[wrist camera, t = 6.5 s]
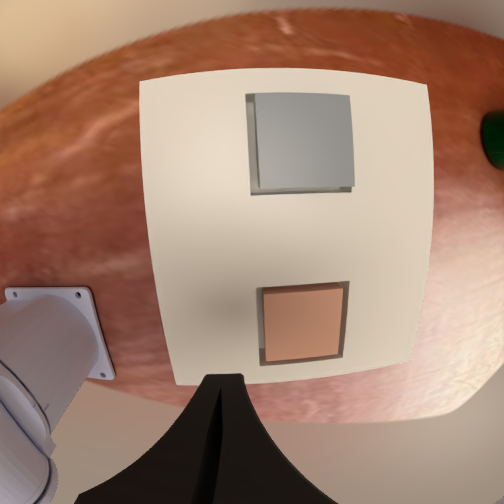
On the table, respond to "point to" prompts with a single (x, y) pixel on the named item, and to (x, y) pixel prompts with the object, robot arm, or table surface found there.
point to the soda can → (495, 137)
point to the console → (284, 222)
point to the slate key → (303, 140)
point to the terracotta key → (301, 320)
